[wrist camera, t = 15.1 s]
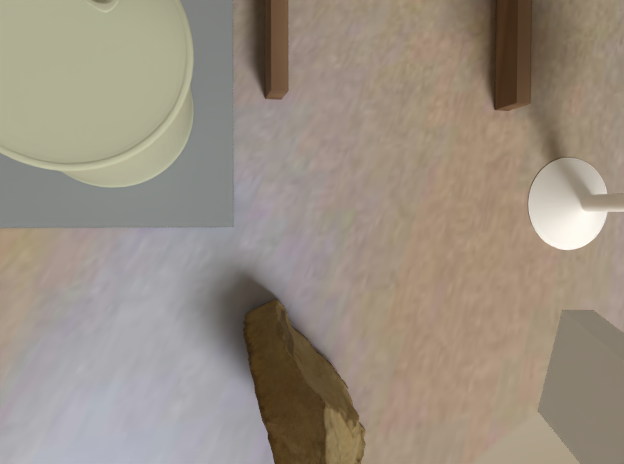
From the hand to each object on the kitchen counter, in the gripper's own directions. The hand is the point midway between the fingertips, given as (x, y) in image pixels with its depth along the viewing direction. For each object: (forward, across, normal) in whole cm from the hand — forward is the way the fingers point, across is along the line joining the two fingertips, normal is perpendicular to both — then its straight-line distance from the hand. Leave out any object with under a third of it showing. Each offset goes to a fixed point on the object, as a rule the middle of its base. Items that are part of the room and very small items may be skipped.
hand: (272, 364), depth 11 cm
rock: (+20, +4, -13) cm, 24 cm away
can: (+23, -8, +2) cm, 24 cm away
